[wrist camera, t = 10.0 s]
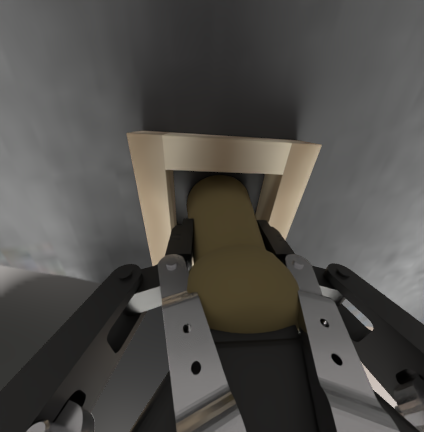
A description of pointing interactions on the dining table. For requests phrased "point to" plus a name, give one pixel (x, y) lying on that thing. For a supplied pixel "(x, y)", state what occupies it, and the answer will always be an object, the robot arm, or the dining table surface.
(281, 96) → the dining table surface
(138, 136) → the socket block
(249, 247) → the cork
